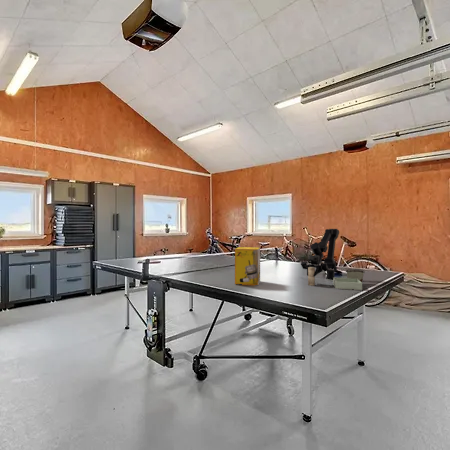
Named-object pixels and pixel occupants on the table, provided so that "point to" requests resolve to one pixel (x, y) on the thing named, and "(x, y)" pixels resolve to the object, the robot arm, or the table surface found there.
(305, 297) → the table surface
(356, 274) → the food container
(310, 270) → the maple peg
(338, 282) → the open box
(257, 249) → the packaging box
